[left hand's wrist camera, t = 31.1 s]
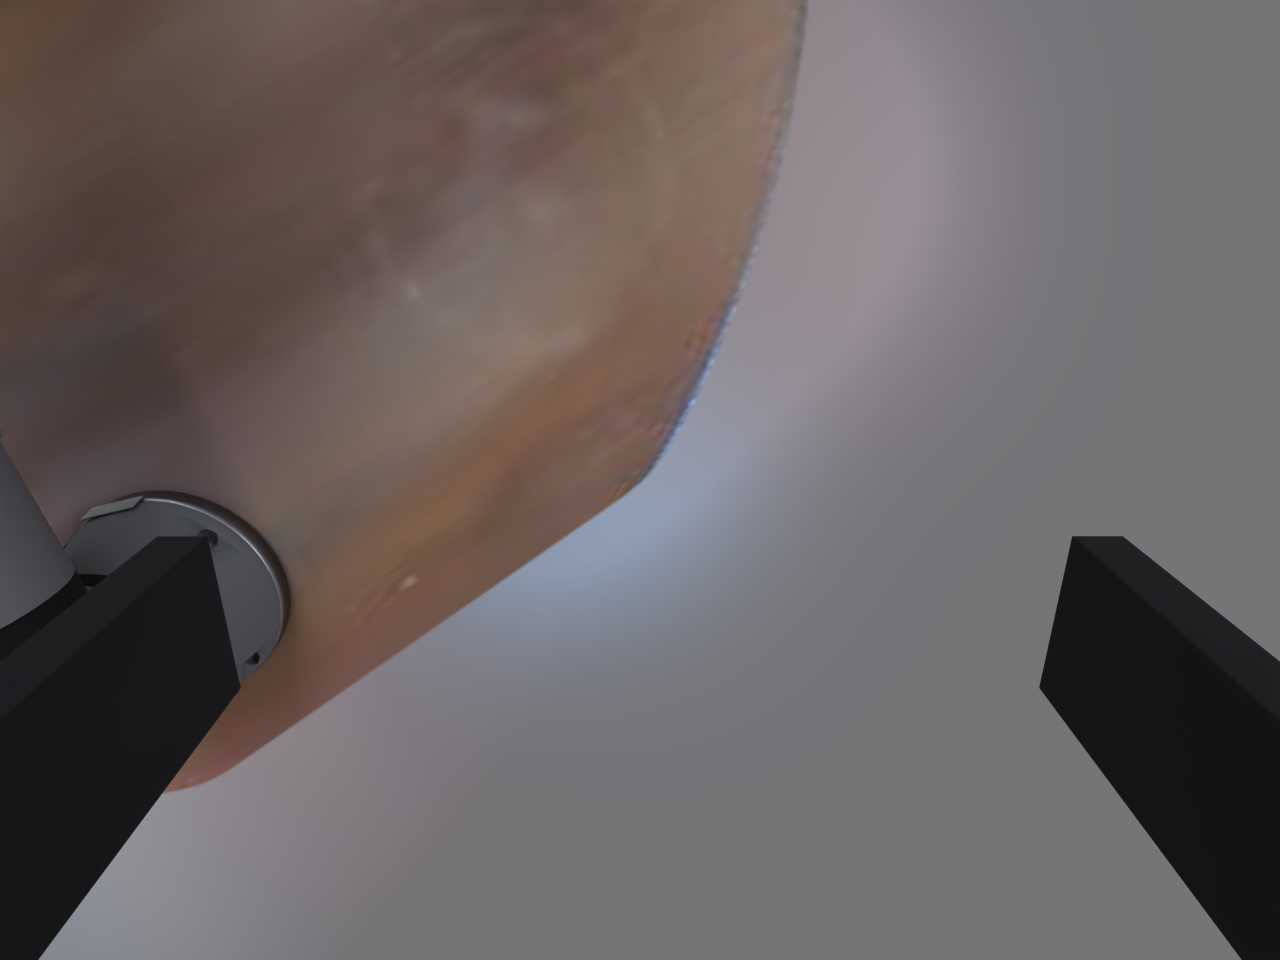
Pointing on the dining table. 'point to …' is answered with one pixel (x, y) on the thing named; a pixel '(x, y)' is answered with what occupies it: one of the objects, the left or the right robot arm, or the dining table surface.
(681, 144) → the dining table surface
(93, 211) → the dining table surface
